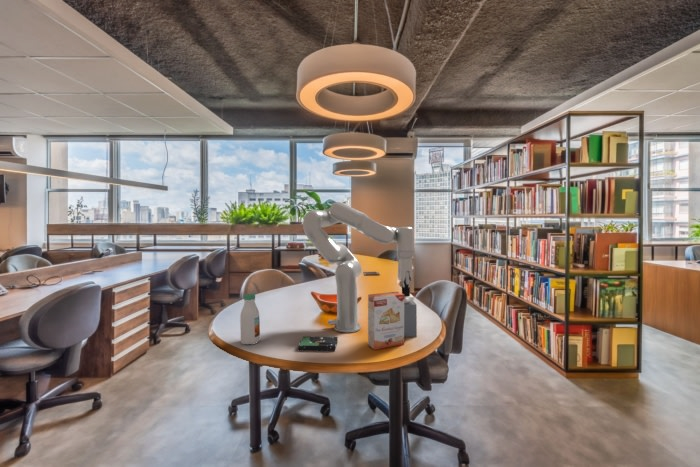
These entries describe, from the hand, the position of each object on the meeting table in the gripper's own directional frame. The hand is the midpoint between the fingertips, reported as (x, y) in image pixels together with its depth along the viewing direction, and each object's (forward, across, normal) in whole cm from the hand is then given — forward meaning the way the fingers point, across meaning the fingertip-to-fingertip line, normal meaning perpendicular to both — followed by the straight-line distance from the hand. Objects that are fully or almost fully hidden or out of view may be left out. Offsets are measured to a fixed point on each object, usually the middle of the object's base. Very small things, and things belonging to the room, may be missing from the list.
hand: (405, 295), depth 140 cm
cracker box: (+17, +13, -10) cm, 24 cm away
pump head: (+13, +1, 0) cm, 13 cm away
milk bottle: (+17, +7, -67) cm, 70 cm away
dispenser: (+17, 0, 0) cm, 17 cm away
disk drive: (+18, +13, -38) cm, 44 cm away
